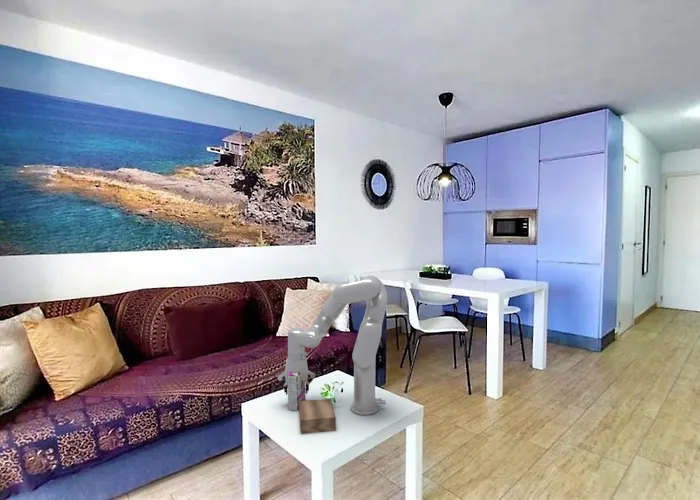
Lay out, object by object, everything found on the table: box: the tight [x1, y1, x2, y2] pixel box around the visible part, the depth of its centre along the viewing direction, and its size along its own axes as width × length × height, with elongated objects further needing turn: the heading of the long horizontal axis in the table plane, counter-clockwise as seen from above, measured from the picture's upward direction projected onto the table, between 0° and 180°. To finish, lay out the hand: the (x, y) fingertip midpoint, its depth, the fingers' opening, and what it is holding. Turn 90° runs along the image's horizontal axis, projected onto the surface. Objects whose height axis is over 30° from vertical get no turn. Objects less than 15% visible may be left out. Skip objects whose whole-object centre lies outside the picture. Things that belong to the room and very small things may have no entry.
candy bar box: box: [287, 372, 307, 412], centre depth 170 cm, size 11×5×16 cm, turn 168°
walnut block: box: [298, 398, 337, 435], centre depth 156 cm, size 14×16×6 cm
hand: (296, 392), depth 170 cm, fingers open, 8 cm apart
